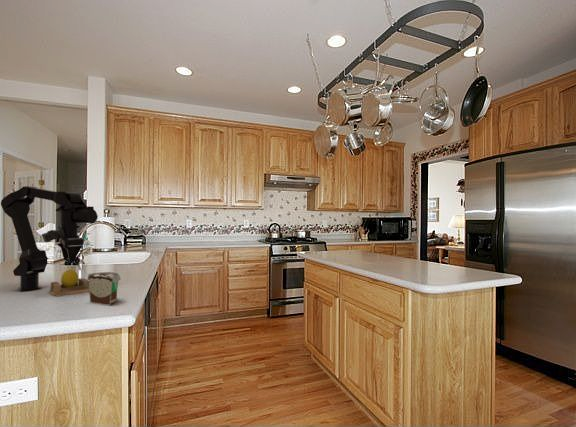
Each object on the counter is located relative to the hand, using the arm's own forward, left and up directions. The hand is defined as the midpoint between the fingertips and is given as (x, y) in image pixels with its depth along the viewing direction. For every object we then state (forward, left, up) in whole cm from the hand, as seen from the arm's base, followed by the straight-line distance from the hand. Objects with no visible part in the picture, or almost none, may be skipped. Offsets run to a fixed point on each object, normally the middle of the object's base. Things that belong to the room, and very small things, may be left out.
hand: (68, 261), depth 121 cm
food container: (+27, +6, -12) cm, 31 cm away
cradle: (+2, 0, -12) cm, 12 cm away
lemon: (+2, 0, -11) cm, 11 cm away
